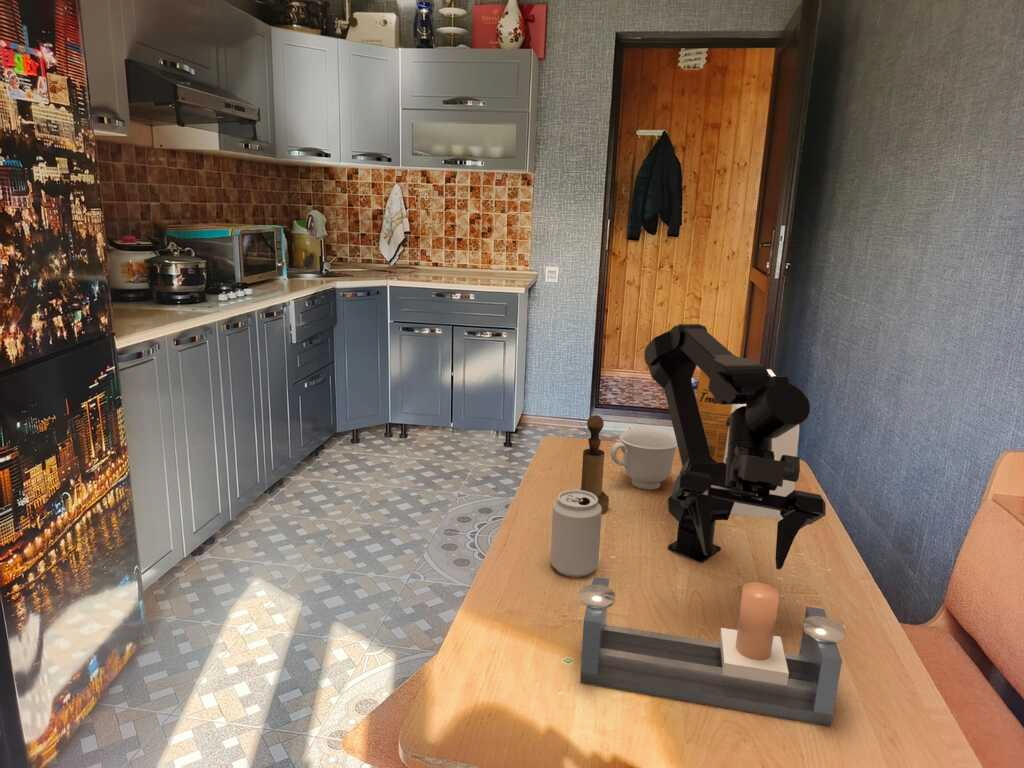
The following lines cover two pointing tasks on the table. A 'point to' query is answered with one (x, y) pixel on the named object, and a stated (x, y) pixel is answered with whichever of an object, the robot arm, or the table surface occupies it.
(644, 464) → the teacup
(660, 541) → the table surface
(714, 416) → the coffee package
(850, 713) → the table surface
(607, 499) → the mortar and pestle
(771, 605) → the carriage
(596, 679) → the rail
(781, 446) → the milk
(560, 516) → the can
